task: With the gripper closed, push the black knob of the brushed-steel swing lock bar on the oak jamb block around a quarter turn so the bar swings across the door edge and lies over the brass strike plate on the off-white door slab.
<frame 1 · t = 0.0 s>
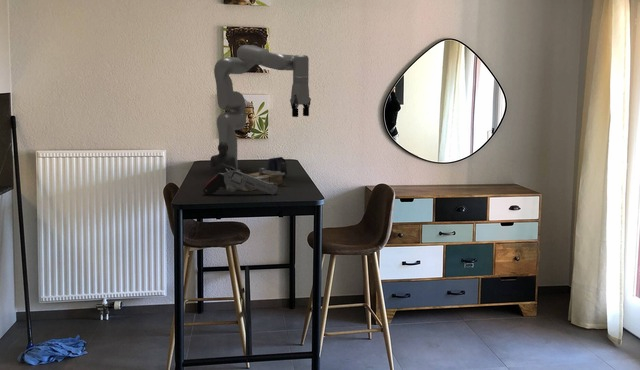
hand: (300, 116, 334), 31 cm above the table, tool pointing down, fingers open, 9 cm apart
rock: (277, 177, 346), on the table
figurine: (223, 184, 322), on the table
lock bar: (272, 168, 321), point 8 cm above the table, hinge at 0.0°
revolver: (240, 195, 295), on the table
door frame: (254, 185, 318), on the table
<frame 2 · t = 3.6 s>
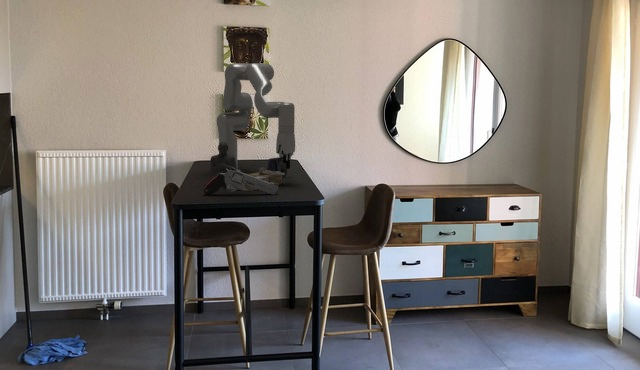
hand: (286, 168, 321), 8 cm above the table, tool pointing down, fingers closed
lock bar: (272, 168, 321), point 8 cm above the table, hinge at 0.9°, touching gripper
everything else where it was.
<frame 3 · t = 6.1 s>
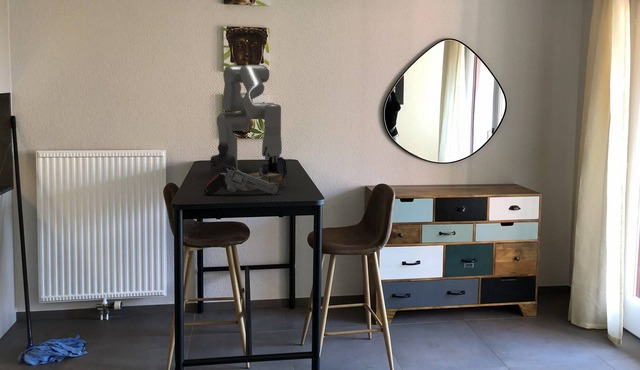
hand: (272, 171, 314), 7 cm above the table, tool pointing down, fingers closed
lock bar: (263, 168, 318), point 8 cm above the table, hinge at 48.7°, touching gripper
everything else where it was.
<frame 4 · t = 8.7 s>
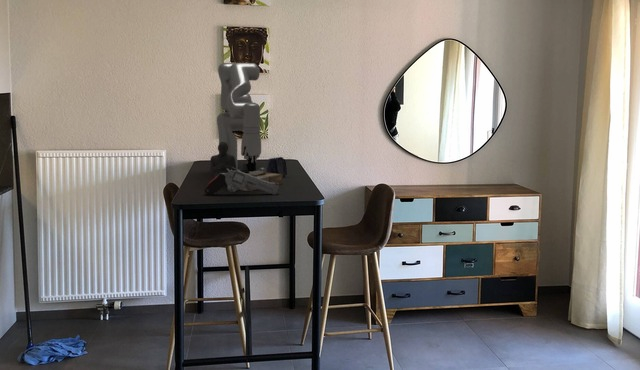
hand: (252, 171, 313), 8 cm above the table, tool pointing down, fingers closed
lock bar: (254, 168, 319), point 8 cm above the table, hinge at 92.8°, touching gripper
everything else where it was.
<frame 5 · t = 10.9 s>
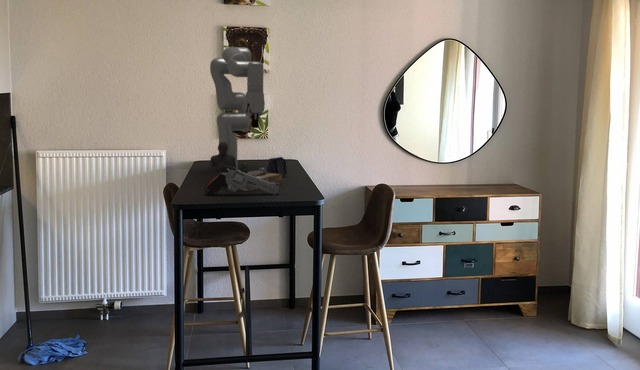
hand: (255, 127, 324), 26 cm above the table, tool pointing down, fingers closed
lock bar: (253, 168, 319), point 8 cm above the table, hinge at 96.7°
everything else where it was.
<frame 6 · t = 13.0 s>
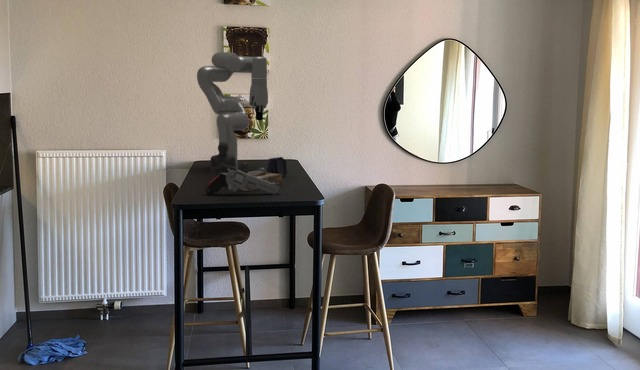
hand: (259, 120, 337), 29 cm above the table, tool pointing down, fingers closed
nothing on the table moved.
at the end: lock bar at +97° (first picture: +0°); figurine moved 0.2 cm from its start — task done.
